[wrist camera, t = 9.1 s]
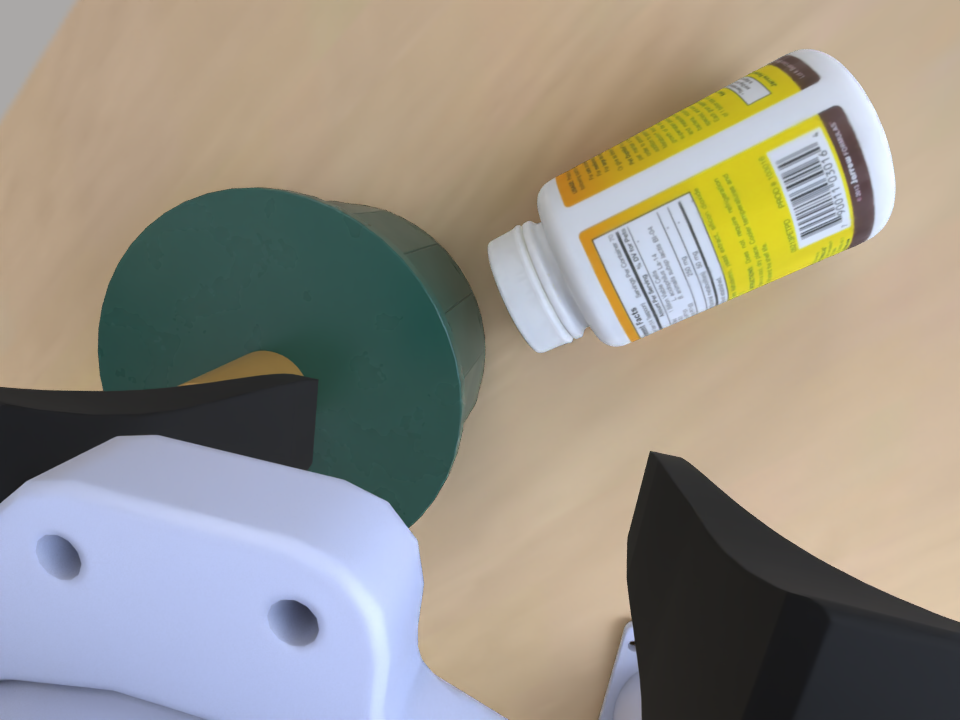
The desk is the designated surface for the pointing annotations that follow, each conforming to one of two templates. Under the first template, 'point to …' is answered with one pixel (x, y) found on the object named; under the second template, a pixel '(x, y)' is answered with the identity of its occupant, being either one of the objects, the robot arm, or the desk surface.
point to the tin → (437, 288)
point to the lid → (296, 330)
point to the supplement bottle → (701, 207)
